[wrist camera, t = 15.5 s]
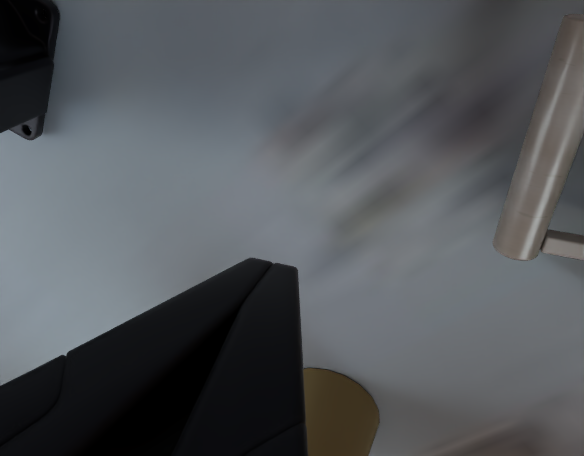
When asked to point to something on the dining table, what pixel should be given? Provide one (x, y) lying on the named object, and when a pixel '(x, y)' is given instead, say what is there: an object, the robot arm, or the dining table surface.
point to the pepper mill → (338, 415)
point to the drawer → (547, 155)
